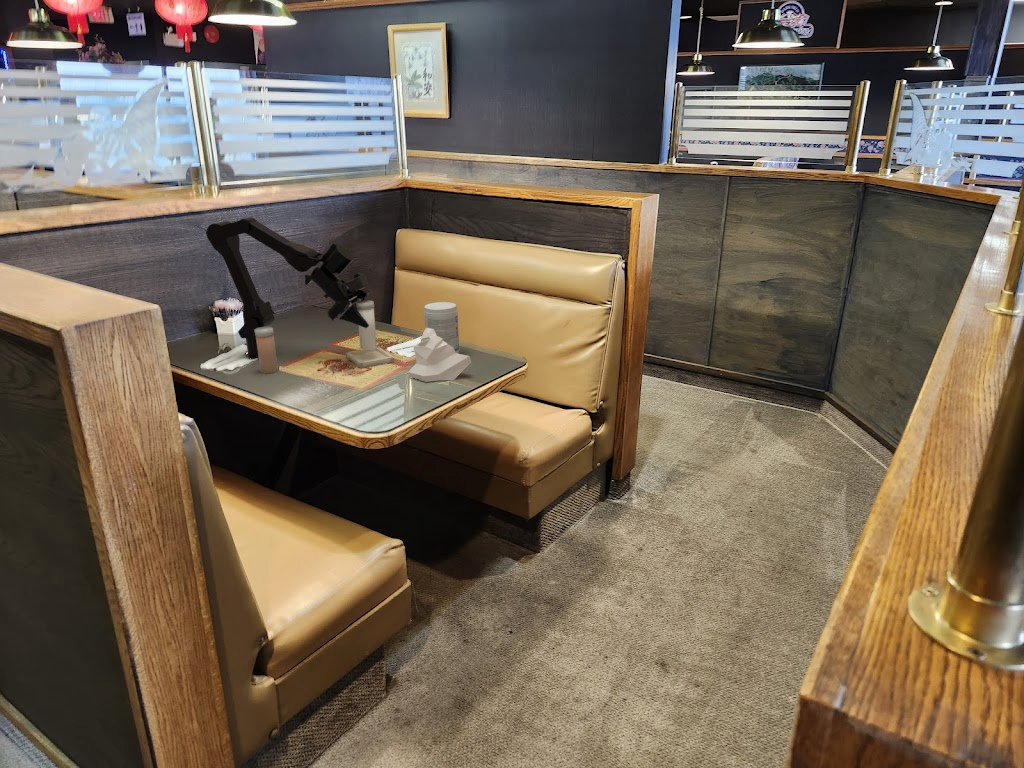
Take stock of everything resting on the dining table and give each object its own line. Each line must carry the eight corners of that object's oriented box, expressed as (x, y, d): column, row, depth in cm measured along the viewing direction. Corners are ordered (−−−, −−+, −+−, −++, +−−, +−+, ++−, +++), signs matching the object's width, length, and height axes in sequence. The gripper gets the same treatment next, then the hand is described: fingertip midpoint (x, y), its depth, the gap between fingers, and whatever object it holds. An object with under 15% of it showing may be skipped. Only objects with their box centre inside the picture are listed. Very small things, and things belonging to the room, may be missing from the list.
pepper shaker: (258, 370, 200) (252, 328, 196) (275, 367, 202) (270, 325, 198) (262, 374, 196) (256, 332, 192) (280, 371, 198) (275, 329, 194)
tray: (346, 357, 210) (345, 352, 209) (378, 351, 215) (378, 346, 214) (360, 368, 200) (360, 363, 200) (394, 362, 205) (393, 357, 205)
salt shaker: (356, 347, 206) (352, 302, 201) (368, 343, 209) (365, 299, 205) (368, 350, 203) (364, 305, 199) (380, 345, 207) (377, 301, 202)
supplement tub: (465, 355, 210) (463, 306, 205) (436, 361, 205) (433, 311, 200) (449, 347, 218) (447, 300, 213) (421, 353, 213) (418, 304, 208)
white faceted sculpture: (439, 393, 186) (422, 344, 180) (405, 383, 196) (388, 337, 190) (473, 370, 193) (458, 322, 186) (439, 362, 203) (423, 317, 197)
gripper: (334, 271, 190) (377, 314, 192) (361, 259, 208) (399, 298, 209) (309, 299, 194) (351, 340, 196) (337, 285, 212) (376, 323, 214)
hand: (371, 324), depth 204 cm, fingers closed on salt shaker, 5 cm apart
